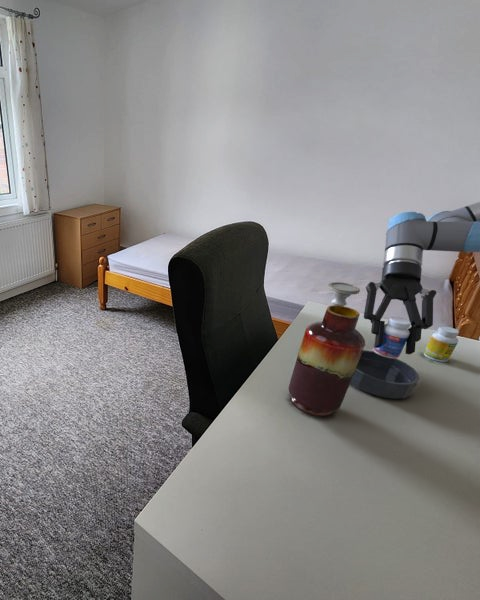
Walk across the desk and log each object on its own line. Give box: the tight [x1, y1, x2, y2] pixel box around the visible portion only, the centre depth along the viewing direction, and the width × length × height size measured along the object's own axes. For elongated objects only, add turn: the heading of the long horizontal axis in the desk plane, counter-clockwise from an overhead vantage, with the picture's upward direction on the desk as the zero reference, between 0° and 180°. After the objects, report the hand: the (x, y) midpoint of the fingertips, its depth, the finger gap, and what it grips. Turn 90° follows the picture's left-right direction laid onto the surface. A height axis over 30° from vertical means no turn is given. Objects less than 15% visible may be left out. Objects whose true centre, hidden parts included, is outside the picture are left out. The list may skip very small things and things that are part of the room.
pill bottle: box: [372, 316, 411, 359], centre depth 86 cm, size 6×5×10 cm
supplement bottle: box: [423, 325, 460, 363], centre depth 99 cm, size 5×5×10 cm
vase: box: [288, 304, 366, 418], centre depth 79 cm, size 11×11×26 cm
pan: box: [350, 349, 421, 400], centre depth 91 cm, size 15×15×5 cm
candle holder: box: [321, 281, 361, 321], centre depth 104 cm, size 9×9×20 cm
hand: (393, 349), depth 84 cm, fingers closed on pill bottle, 5 cm apart
